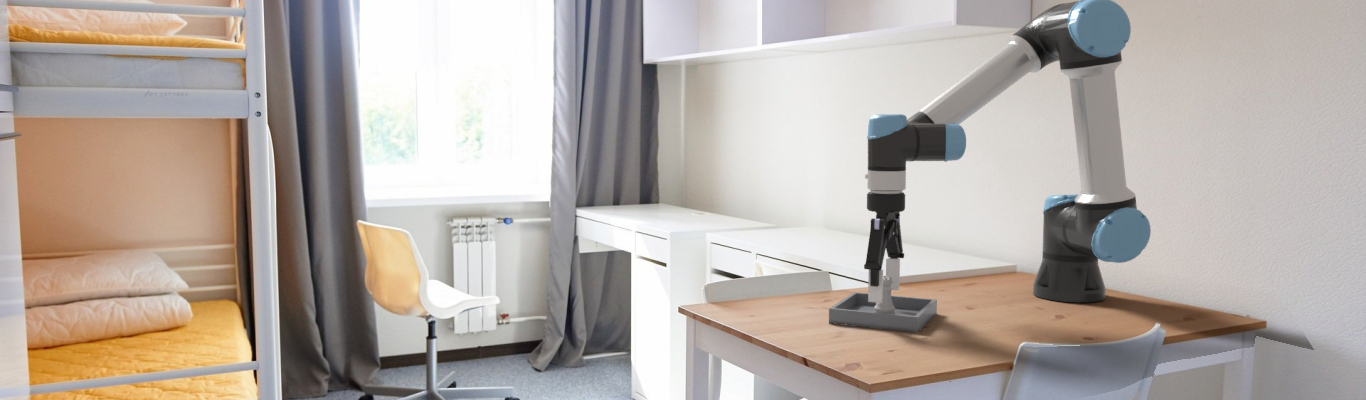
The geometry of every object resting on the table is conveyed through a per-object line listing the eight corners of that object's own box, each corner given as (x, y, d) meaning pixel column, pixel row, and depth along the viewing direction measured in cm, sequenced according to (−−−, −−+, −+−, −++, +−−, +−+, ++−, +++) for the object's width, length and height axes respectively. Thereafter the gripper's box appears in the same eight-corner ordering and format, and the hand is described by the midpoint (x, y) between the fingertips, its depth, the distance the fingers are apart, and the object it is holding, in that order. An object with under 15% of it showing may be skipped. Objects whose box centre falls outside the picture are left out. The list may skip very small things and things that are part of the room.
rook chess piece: (883, 319, 188) (883, 279, 188) (868, 314, 192) (869, 276, 192) (900, 316, 191) (901, 277, 190) (885, 312, 194) (886, 274, 194)
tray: (936, 313, 196) (936, 299, 195) (917, 332, 180) (918, 317, 180) (853, 305, 203) (854, 292, 203) (828, 323, 188) (829, 308, 187)
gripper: (883, 185, 202) (881, 283, 204) (850, 196, 179) (848, 305, 182) (918, 186, 198) (916, 285, 201) (889, 198, 176) (887, 309, 178)
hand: (884, 295), depth 191 cm, fingers open, 13 cm apart
